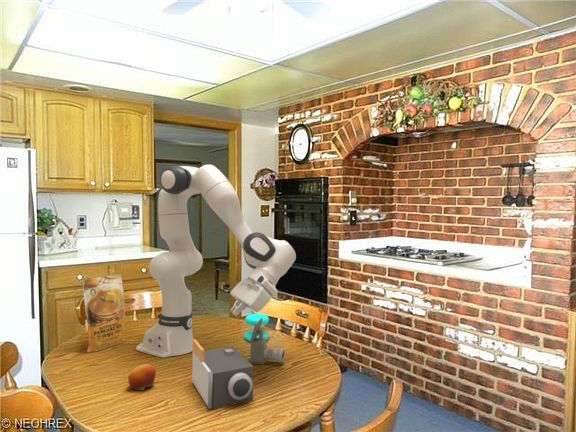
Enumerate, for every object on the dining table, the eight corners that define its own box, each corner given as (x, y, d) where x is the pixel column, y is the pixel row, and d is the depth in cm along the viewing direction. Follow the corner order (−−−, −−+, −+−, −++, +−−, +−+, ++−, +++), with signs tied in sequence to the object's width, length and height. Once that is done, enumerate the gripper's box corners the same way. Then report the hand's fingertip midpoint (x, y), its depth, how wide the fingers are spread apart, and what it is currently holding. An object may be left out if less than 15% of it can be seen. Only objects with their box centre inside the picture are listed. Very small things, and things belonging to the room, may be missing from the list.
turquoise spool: (256, 320, 163) (240, 315, 170) (255, 345, 163) (240, 339, 170) (273, 316, 170) (258, 311, 177) (273, 339, 170) (257, 333, 177)
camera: (280, 369, 140) (281, 327, 139) (248, 366, 142) (249, 324, 142) (285, 360, 148) (286, 320, 148) (255, 357, 150) (255, 317, 150)
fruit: (143, 392, 118) (135, 365, 120) (129, 399, 122) (120, 373, 124) (165, 382, 125) (156, 357, 127) (150, 389, 128) (142, 365, 130)
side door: (191, 381, 128) (192, 339, 127) (195, 380, 128) (195, 339, 128) (208, 409, 111) (209, 361, 110) (212, 408, 111) (213, 360, 111)
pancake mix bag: (76, 351, 152) (77, 278, 151) (120, 337, 168) (121, 271, 167) (87, 355, 148) (87, 280, 147) (131, 341, 165) (131, 273, 164)
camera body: (196, 382, 128) (197, 349, 128) (232, 375, 133) (232, 343, 133) (215, 413, 110) (216, 374, 109) (256, 403, 115) (256, 366, 115)
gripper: (243, 270, 143) (216, 300, 139) (267, 281, 125) (237, 315, 121) (254, 282, 145) (228, 311, 141) (279, 293, 127) (250, 328, 123)
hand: (232, 313), depth 131 cm, fingers closed
